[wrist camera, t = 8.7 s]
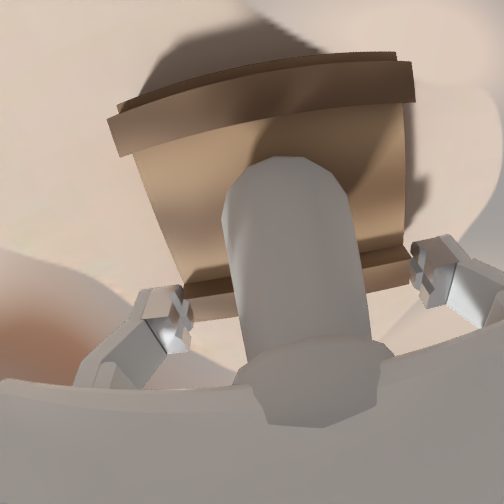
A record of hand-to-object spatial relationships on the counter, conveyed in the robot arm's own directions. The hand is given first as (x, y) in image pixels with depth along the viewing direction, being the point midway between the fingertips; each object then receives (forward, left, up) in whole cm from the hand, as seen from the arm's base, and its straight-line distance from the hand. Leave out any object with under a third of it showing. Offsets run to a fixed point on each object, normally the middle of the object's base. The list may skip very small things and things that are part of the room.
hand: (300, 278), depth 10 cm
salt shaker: (0, 0, -7) cm, 7 cm away
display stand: (0, 0, -10) cm, 10 cm away
